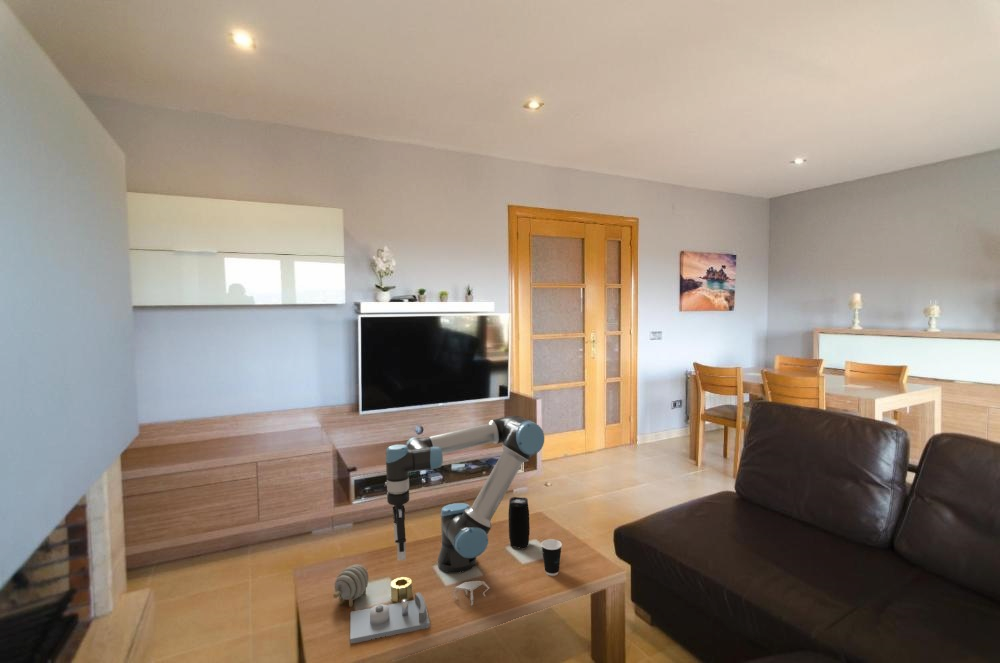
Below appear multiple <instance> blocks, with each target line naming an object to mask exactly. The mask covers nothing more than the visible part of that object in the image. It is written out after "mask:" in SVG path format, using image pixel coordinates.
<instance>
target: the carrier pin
mask: <svg viewBox="0 0 1000 663" xmlns="http://www.w3.org/2000/svg"><path fill="white" fill-rule="evenodd" d="M408 601H409V600H407V599H403V600H402V616H407V615H408Z"/></svg>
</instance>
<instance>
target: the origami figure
mask: <svg viewBox="0 0 1000 663" xmlns="http://www.w3.org/2000/svg"><path fill="white" fill-rule="evenodd" d="M482 585H483V586H485V587H486V589H485V590H484V591H483V592H482V595H483V597H486V594H485V593H486V592H488V590H489V589H490V587H489V586H488V584H486V582H485V581H483V580H482V581H481V580H472V581H471V580H470V581H465V582H463V583H461V584H459V585H457V586H455V587H454V590H453V592H452V595H453V596H454V598H456V599H455V600H456V601H458V599H459V597H458V596H457V595H455V594H456V592H457V591H458V590H462V591H463V590H464V592H465V596H468V593H469V592H470V601H471V602H470V606H473V605H474V590H476V589H477V588H479V587H481V586H482ZM468 591H469V592H468Z"/></svg>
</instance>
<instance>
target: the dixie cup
mask: <svg viewBox="0 0 1000 663" xmlns="http://www.w3.org/2000/svg"><path fill="white" fill-rule="evenodd" d="M540 546H541V550H542V558H543V567H544V571H545V574H546V575H548V576H551V577H555V576H557V575H558V574H559V572H560V566H561V565H560V564H561V554H562V553H561V551H562V546H563V543H562V542H561V541H559V540H557V539H553V538H548V539H545V540H543V541H541V543H540Z"/></svg>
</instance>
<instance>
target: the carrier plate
mask: <svg viewBox="0 0 1000 663" xmlns="http://www.w3.org/2000/svg"><path fill="white" fill-rule="evenodd" d="M349 622H350V624H349V625H350V628H349V631H350V633H349V641H350V643H349V644H352V643H353V644H357V643H362V642H366V641H371V639H372V640H376V639H375V638H377V639H381V638H380V637H382V638H386V637H391V636H395V635H396V634H397V635H401V634H405V633H411V632H416V631H421V630H425V628H426V629H430V627H431V622H430V617H429V614H428V610H427V605H426V600H425V598H424V596H423V595H422V594H421V592H419V591H418V592H416V593H414V599H413V600H412V599H411V600H408V615H407V616H402V602H401V603H399V602H398V603H397V602H395V603H391V604H381V603H380V604H376V605H374V606H372V607H370V608H365V609H364V608H363V609H359V610H354V611H353V610H352V611H350V621H349ZM420 629H421V630H420ZM385 636H386V637H385Z"/></svg>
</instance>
